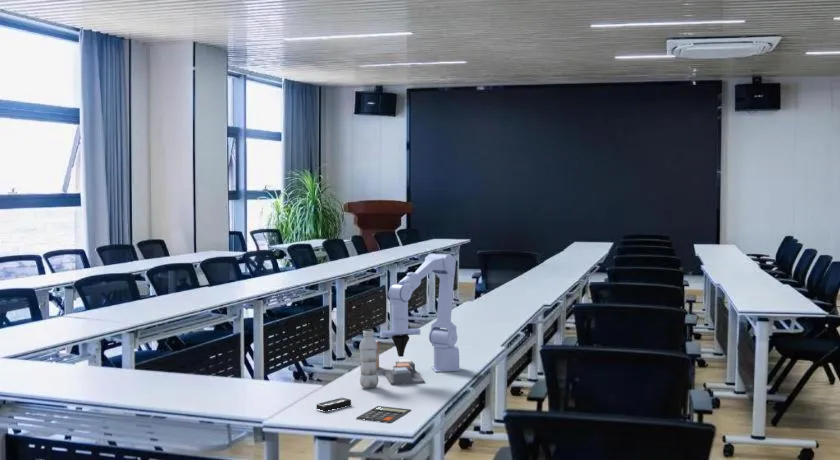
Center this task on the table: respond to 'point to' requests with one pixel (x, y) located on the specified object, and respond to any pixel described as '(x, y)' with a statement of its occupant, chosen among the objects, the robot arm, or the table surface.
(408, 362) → the ivory key
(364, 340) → the plastic bottle
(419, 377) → the panel
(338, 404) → the multiport hub
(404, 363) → the terracotta key
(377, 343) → the small box
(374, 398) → the table surface
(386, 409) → the calculator
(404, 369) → the slate key
